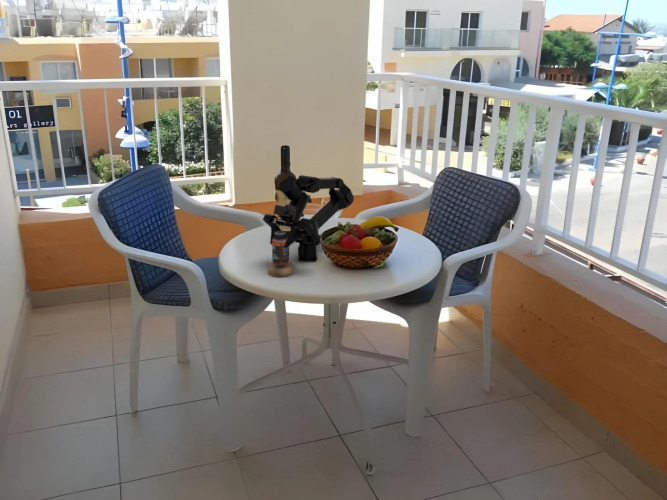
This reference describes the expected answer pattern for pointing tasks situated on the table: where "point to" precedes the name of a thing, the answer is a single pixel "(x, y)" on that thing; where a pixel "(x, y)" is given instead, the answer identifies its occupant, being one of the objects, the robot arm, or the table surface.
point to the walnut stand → (281, 270)
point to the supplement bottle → (280, 249)
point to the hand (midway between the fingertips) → (278, 245)
